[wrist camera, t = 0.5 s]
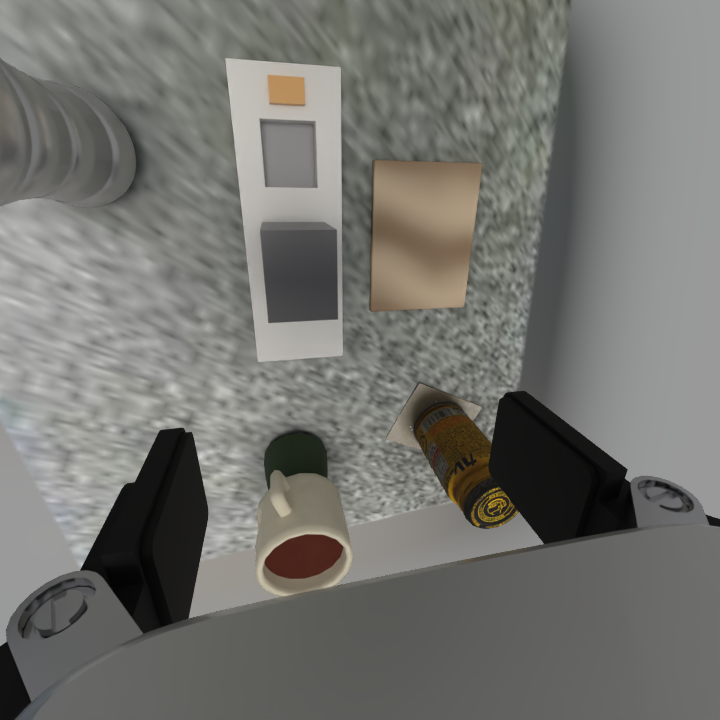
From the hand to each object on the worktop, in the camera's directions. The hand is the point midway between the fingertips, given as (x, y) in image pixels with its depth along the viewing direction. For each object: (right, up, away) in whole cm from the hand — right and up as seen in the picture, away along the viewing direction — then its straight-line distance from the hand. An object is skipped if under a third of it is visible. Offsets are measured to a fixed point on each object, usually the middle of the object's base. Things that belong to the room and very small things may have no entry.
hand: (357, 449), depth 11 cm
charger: (-5, +11, +18) cm, 21 cm away
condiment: (+8, -4, +30) cm, 31 cm away
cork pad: (+5, +13, +21) cm, 26 cm away
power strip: (-5, +13, +19) cm, 23 cm away
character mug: (-7, -7, +28) cm, 29 cm away
